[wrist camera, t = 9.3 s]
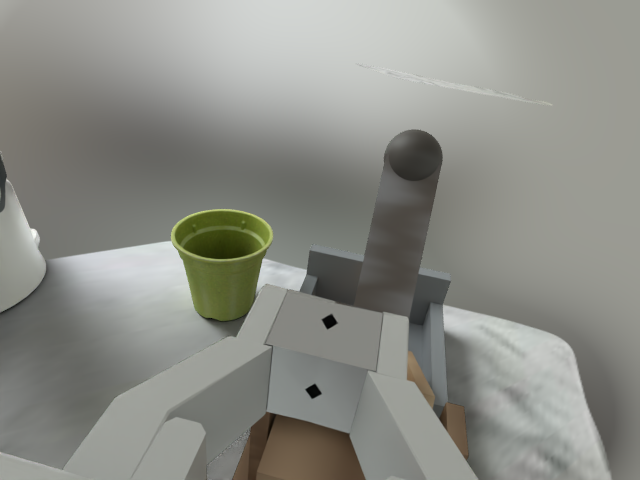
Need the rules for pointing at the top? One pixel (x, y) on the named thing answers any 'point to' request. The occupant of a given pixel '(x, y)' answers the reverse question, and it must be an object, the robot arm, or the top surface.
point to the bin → (425, 316)
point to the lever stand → (317, 448)
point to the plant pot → (222, 259)
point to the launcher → (401, 232)
